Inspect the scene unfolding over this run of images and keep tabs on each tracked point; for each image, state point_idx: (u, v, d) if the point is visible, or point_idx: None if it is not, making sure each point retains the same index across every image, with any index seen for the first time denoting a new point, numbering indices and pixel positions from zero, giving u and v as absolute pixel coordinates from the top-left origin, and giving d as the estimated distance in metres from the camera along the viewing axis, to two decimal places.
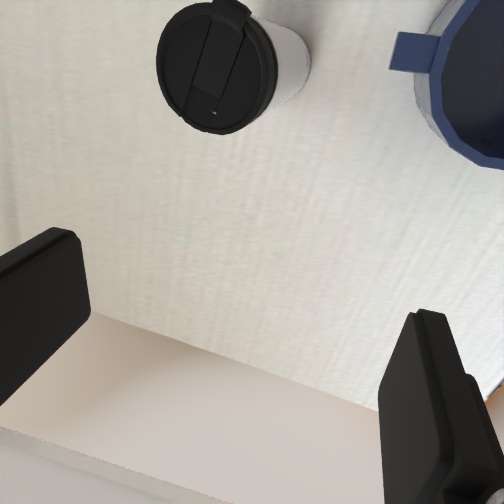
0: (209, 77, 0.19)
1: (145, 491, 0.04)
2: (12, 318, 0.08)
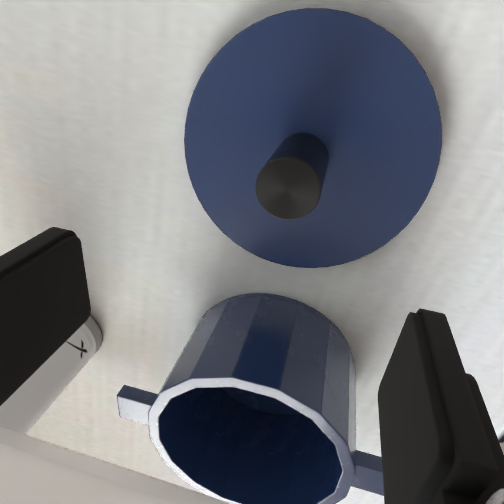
0: None
1: (145, 491, 0.04)
2: (12, 318, 0.08)
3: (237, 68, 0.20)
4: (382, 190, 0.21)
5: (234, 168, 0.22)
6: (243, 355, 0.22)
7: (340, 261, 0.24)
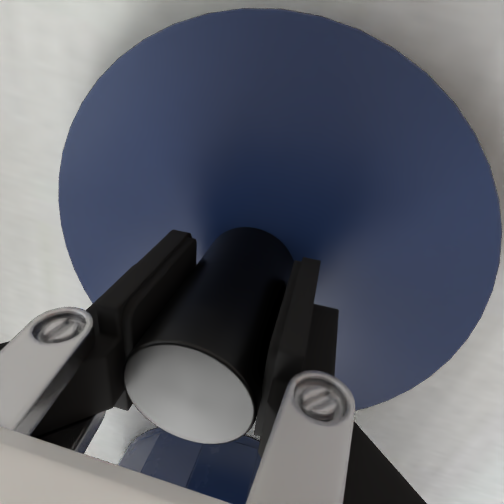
0: None
1: (145, 491, 0.04)
2: (157, 315, 0.09)
3: (127, 115, 0.11)
4: (388, 324, 0.12)
5: None
6: None
7: None
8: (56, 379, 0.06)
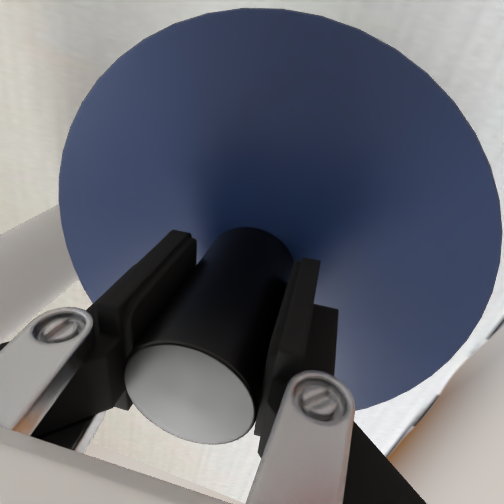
0: None
1: (145, 491, 0.04)
2: (157, 315, 0.09)
3: (128, 115, 0.11)
4: (388, 324, 0.12)
5: None
6: None
7: None
8: (56, 379, 0.06)
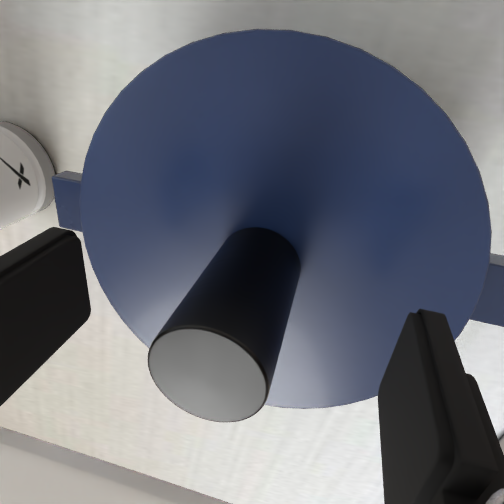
0: None
1: (145, 491, 0.04)
2: (12, 318, 0.08)
3: (147, 124, 0.12)
4: (387, 318, 0.13)
5: (158, 269, 0.14)
6: None
7: (322, 404, 0.16)
8: None
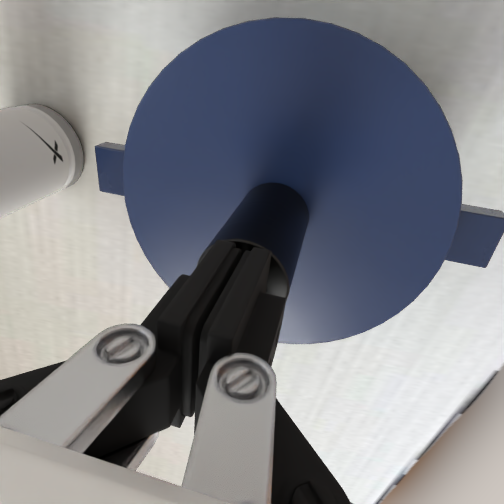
0: None
1: (145, 491, 0.04)
2: None
3: (184, 96, 0.14)
4: (380, 258, 0.16)
5: (188, 222, 0.17)
6: None
7: (326, 339, 0.18)
8: (109, 405, 0.06)
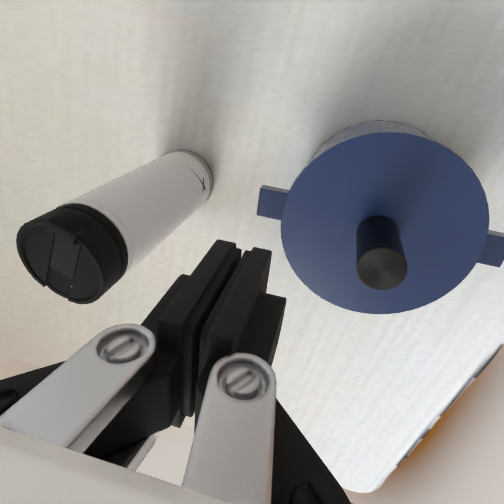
0: (62, 264, 0.23)
1: (145, 491, 0.04)
2: None
3: (333, 167, 0.26)
4: (439, 260, 0.27)
5: (320, 236, 0.29)
6: None
7: (399, 310, 0.30)
8: (109, 405, 0.06)
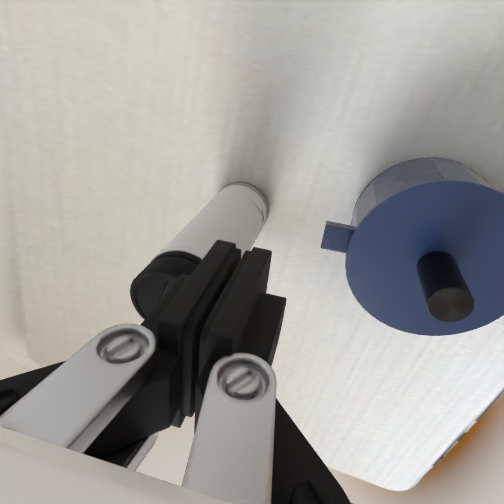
0: None
1: (145, 491, 0.04)
2: None
3: (398, 209, 0.29)
4: (492, 289, 0.30)
5: (382, 268, 0.32)
6: (445, 176, 0.29)
7: (452, 332, 0.33)
8: (109, 405, 0.06)
